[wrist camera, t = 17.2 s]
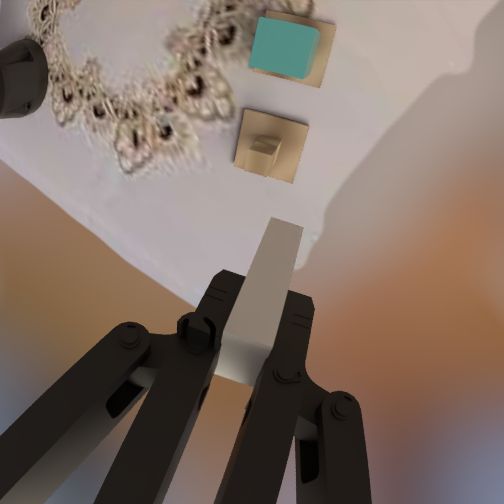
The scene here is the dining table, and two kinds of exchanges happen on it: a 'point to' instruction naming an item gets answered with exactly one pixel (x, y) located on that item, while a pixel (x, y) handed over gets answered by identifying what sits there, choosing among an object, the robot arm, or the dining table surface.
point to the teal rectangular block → (284, 47)
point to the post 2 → (270, 145)
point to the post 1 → (321, 53)
